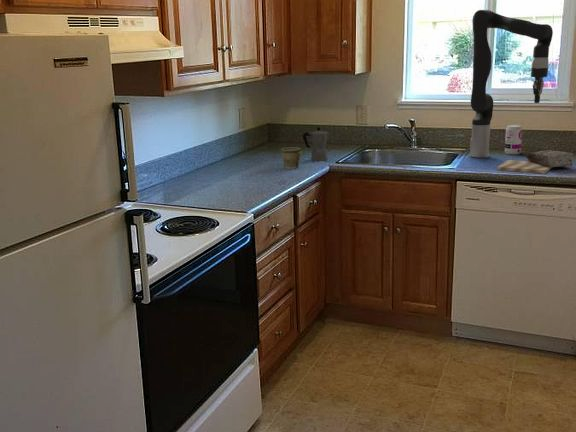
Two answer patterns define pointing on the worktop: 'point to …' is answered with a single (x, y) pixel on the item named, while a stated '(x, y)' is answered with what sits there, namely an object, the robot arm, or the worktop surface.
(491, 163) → the worktop surface
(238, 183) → the worktop surface
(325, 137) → the coffeepot
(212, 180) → the worktop surface
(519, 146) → the supplement can
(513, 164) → the cutting board
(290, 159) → the ceramic cup
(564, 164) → the stone block
